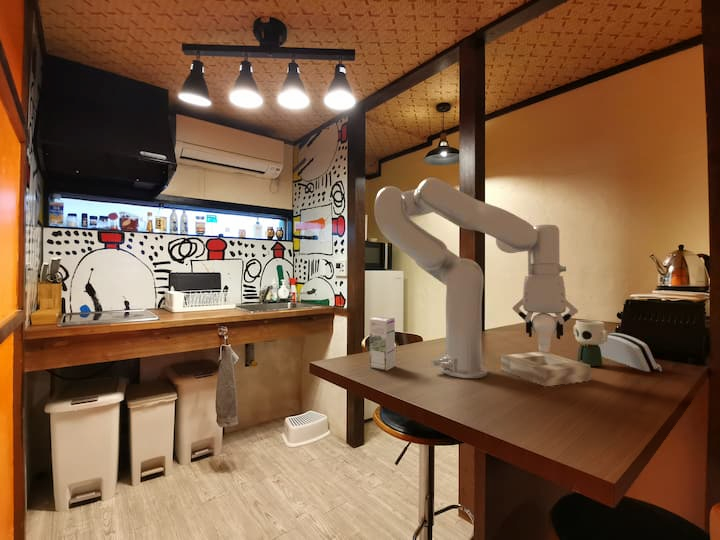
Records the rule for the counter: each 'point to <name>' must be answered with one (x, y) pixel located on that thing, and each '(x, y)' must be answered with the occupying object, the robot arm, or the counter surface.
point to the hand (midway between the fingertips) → (544, 336)
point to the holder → (545, 368)
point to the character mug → (590, 341)
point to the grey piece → (628, 352)
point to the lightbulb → (544, 330)
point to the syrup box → (382, 343)
